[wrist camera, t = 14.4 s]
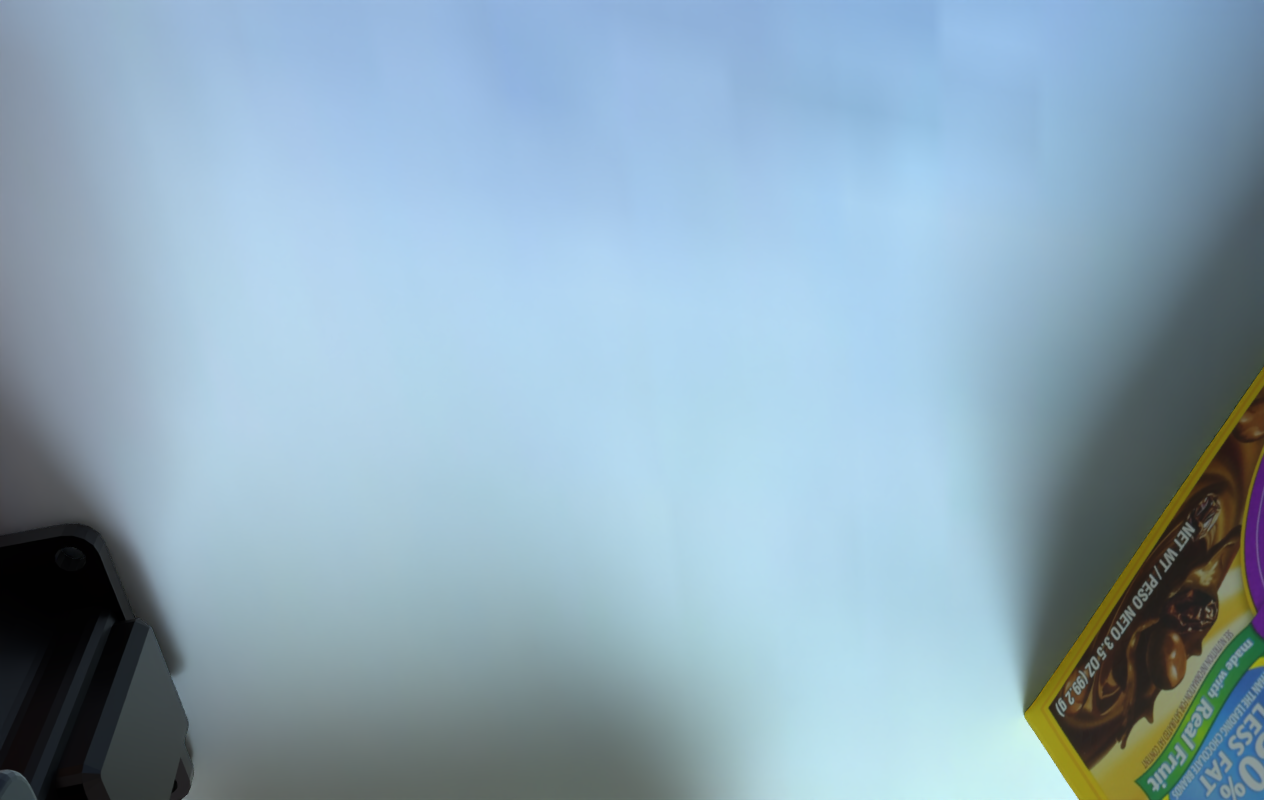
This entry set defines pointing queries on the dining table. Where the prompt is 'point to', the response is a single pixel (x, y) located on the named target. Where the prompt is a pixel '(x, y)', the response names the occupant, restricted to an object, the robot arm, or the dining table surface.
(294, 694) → the dining table surface
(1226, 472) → the candy box
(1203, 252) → the dining table surface
